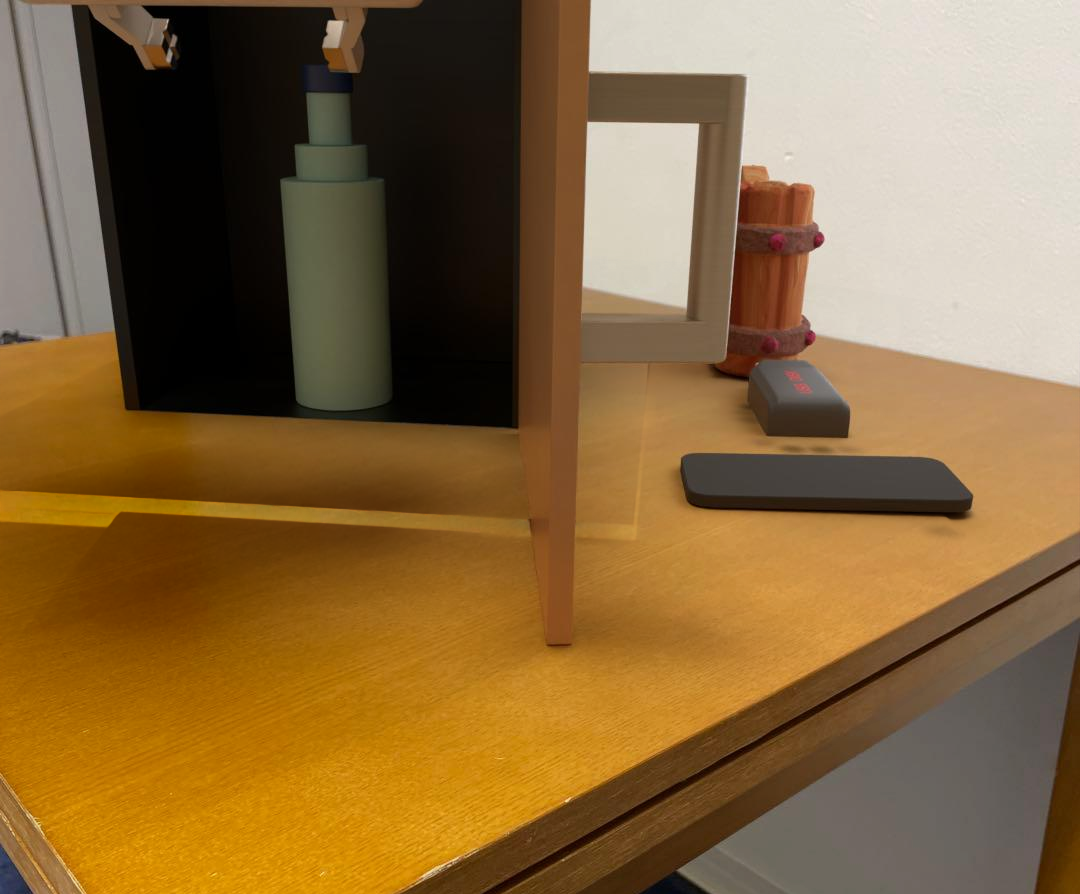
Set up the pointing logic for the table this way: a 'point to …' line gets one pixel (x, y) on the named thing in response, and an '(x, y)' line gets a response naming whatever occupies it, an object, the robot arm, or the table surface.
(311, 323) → the bottle
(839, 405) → the grey rounded block
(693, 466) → the phone
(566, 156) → the fridge door
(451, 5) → the box
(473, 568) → the table surface
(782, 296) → the mug
